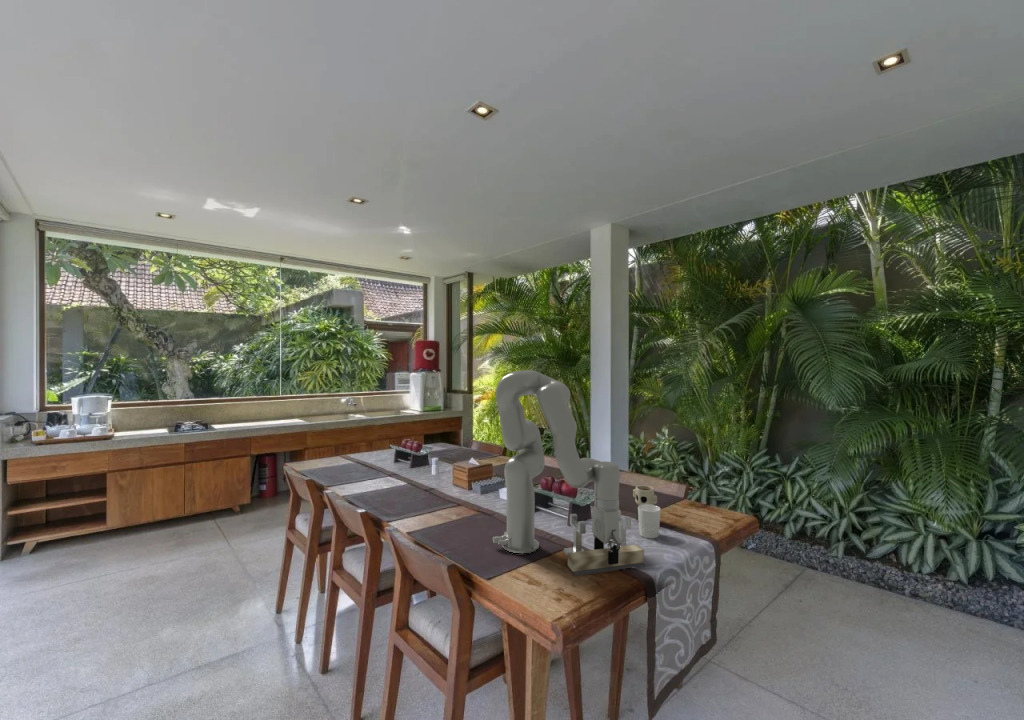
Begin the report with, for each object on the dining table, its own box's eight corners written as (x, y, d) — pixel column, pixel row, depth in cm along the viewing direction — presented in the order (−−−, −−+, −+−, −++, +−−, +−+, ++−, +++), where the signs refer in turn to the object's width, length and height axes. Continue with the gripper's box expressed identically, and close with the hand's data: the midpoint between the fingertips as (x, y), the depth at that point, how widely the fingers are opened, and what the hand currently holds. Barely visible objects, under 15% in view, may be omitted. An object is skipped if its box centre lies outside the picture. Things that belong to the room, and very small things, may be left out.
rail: (572, 571, 141) (572, 558, 140) (567, 565, 144) (567, 552, 144) (643, 562, 147) (643, 549, 147) (637, 556, 151) (637, 544, 150)
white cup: (648, 541, 164) (648, 513, 164) (633, 533, 171) (633, 506, 171) (664, 536, 168) (665, 509, 168) (649, 529, 175) (649, 502, 175)
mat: (576, 575, 139) (576, 573, 139) (567, 565, 146) (567, 563, 146) (644, 566, 145) (644, 564, 145) (633, 556, 152) (633, 554, 152)
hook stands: (574, 563, 147) (574, 524, 147) (563, 551, 156) (563, 514, 155) (636, 555, 153) (637, 517, 152) (623, 544, 162) (623, 508, 161)
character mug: (627, 518, 186) (627, 486, 185) (638, 514, 190) (638, 482, 190) (650, 526, 177) (651, 492, 177) (661, 522, 182) (662, 489, 181)
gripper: (583, 494, 152) (583, 546, 153) (608, 513, 136) (607, 571, 136) (604, 493, 154) (604, 544, 155) (631, 511, 138) (630, 568, 138)
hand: (605, 556), depth 146 cm, fingers open, 9 cm apart
